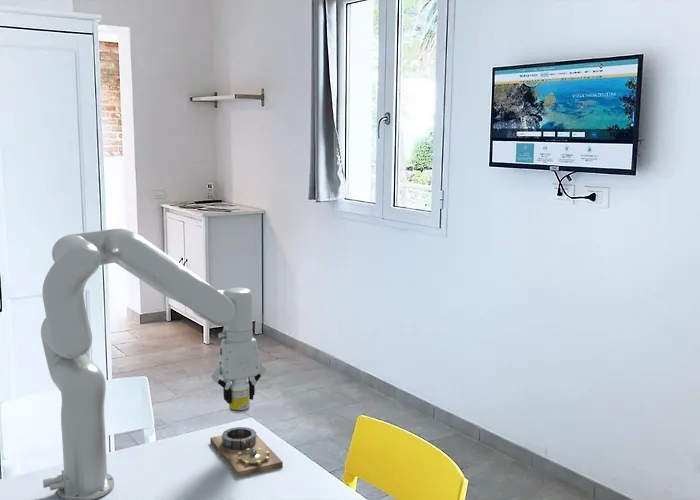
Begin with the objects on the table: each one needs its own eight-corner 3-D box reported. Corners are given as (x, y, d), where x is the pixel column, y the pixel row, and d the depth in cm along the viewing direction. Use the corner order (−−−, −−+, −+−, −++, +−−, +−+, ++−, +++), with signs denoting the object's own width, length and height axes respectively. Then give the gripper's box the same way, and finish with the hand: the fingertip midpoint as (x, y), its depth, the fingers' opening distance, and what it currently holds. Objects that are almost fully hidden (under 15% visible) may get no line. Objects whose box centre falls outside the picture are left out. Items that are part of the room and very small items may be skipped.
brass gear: (243, 468, 177) (243, 461, 177) (232, 455, 184) (232, 447, 184) (274, 461, 181) (274, 454, 181) (262, 448, 188) (262, 441, 188)
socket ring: (229, 452, 186) (228, 443, 185) (218, 439, 193) (218, 430, 193) (260, 445, 190) (260, 437, 190) (249, 433, 198) (248, 424, 197)
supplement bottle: (233, 405, 193) (233, 371, 192) (252, 407, 192) (252, 372, 191) (226, 413, 188) (225, 377, 186) (245, 415, 187) (245, 379, 185)
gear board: (238, 477, 176) (237, 471, 175) (210, 442, 195) (210, 437, 194) (282, 467, 181) (282, 461, 181) (251, 434, 200) (251, 429, 200)
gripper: (211, 343, 179) (212, 410, 182) (274, 334, 187) (274, 399, 191) (202, 335, 186) (203, 400, 189) (263, 327, 194) (263, 390, 197)
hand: (239, 399), depth 190 cm, fingers closed on supplement bottle, 5 cm apart
